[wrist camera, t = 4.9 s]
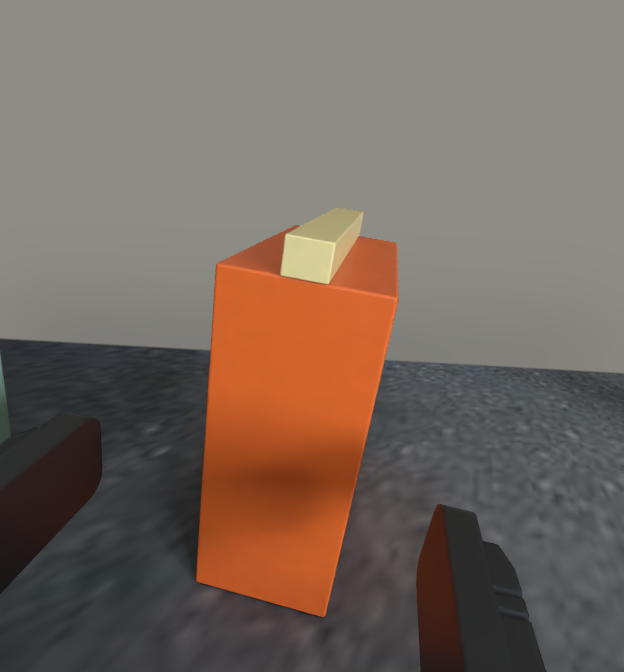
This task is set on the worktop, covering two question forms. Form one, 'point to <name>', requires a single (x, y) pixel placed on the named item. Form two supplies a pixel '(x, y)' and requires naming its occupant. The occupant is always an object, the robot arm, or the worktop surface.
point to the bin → (3, 409)
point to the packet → (291, 406)
